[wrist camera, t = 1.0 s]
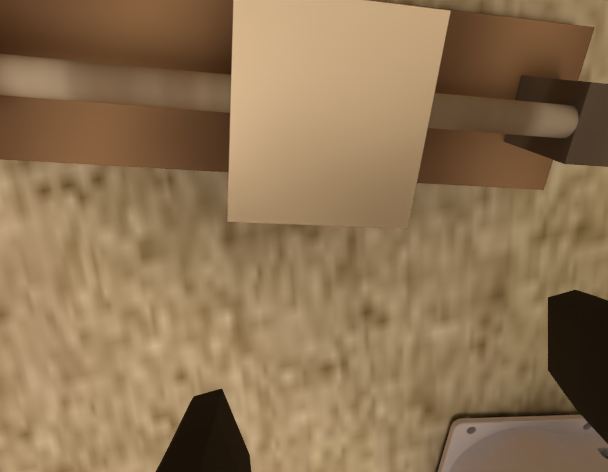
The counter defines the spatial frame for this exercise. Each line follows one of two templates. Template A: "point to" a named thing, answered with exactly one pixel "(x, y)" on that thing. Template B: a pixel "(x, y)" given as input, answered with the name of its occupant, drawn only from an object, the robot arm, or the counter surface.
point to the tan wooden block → (330, 110)
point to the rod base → (217, 91)
